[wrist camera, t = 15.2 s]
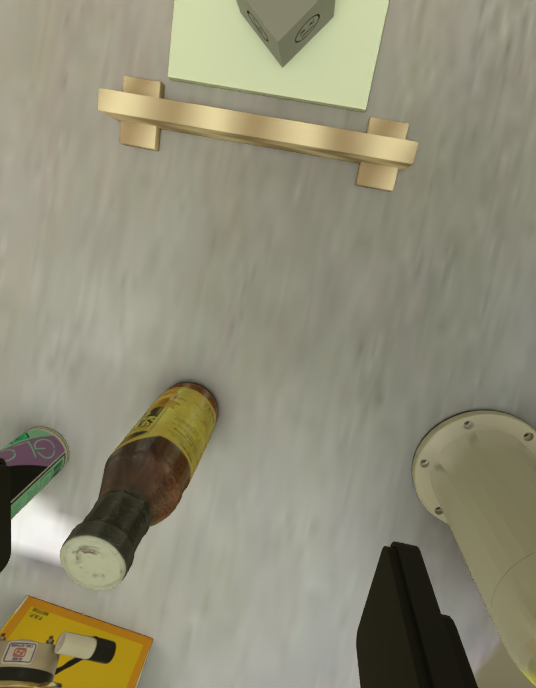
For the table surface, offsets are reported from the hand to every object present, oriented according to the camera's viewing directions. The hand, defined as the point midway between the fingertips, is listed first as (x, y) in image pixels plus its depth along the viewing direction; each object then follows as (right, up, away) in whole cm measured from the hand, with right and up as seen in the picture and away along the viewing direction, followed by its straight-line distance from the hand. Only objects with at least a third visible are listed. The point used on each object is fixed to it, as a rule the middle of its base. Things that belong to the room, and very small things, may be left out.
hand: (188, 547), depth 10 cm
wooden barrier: (+1, +22, +25) cm, 34 cm away
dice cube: (+3, +30, +22) cm, 37 cm away
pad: (+3, +30, +23) cm, 38 cm away
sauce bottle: (-6, -2, +33) cm, 34 cm away
